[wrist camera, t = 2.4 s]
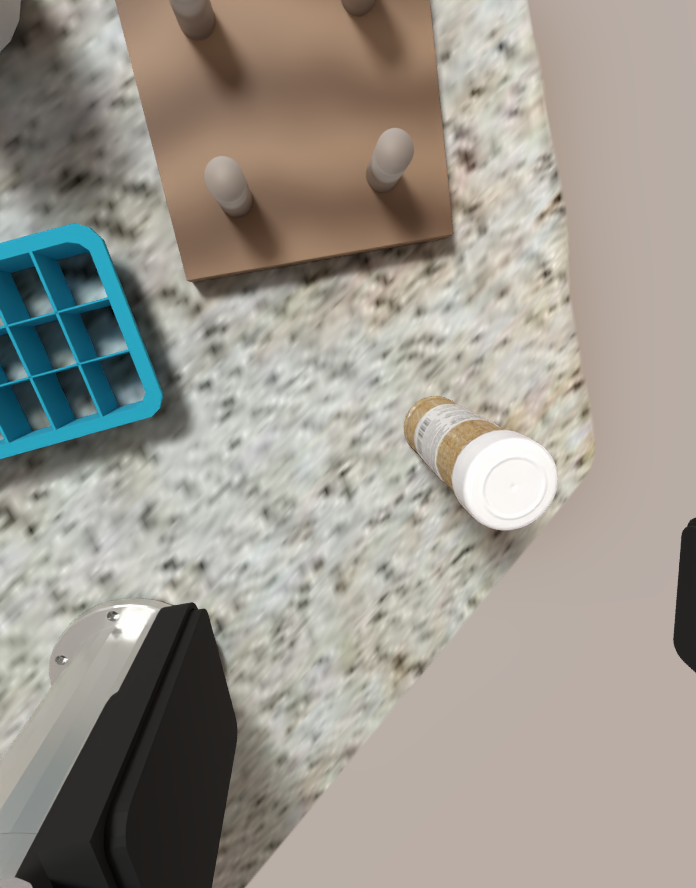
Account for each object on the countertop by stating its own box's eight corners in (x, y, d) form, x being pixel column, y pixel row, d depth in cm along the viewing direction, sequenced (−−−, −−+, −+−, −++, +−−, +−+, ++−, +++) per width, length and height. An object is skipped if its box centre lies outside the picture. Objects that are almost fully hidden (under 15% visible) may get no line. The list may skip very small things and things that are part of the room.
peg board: (446, 237, 30) (476, 219, 25) (192, 282, 29) (168, 273, 24) (412, -84, 26) (440, -190, 20) (110, -41, 25) (58, -140, 19)
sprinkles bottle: (443, 463, 34) (528, 548, 21) (391, 438, 33) (446, 511, 20) (473, 410, 33) (580, 464, 20) (420, 383, 32) (498, 422, 20)
